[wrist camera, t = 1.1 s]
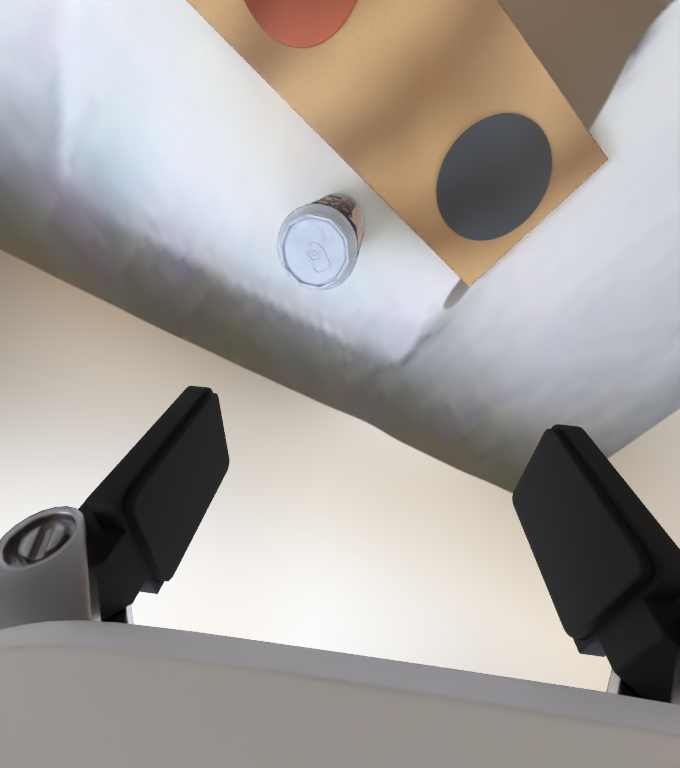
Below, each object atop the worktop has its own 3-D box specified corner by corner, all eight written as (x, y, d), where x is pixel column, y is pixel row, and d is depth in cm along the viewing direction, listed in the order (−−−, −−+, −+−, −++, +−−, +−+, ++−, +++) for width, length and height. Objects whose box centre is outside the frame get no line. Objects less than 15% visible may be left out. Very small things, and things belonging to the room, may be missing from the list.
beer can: (351, 182, 27) (334, 187, 17) (373, 239, 29) (370, 275, 19) (300, 210, 28) (256, 230, 18) (325, 263, 30) (298, 307, 20)
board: (192, 6, 22) (179, -7, 21) (294, -269, 17) (285, -313, 15) (465, 282, 30) (470, 288, 29) (596, 159, 24) (611, 159, 23)
